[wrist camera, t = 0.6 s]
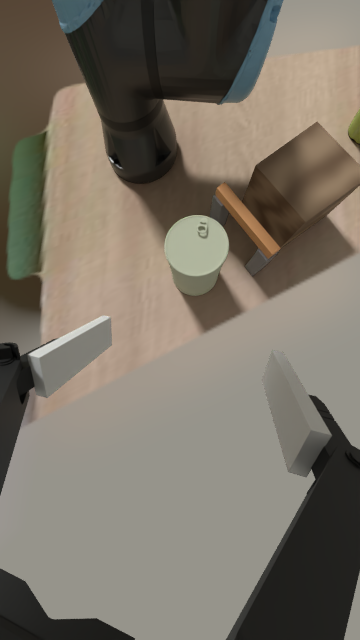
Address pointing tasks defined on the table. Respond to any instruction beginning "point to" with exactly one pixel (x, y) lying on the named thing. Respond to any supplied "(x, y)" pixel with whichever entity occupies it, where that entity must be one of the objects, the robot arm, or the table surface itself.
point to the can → (196, 253)
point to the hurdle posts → (221, 216)
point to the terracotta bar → (247, 220)
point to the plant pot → (355, 128)
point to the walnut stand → (300, 184)
